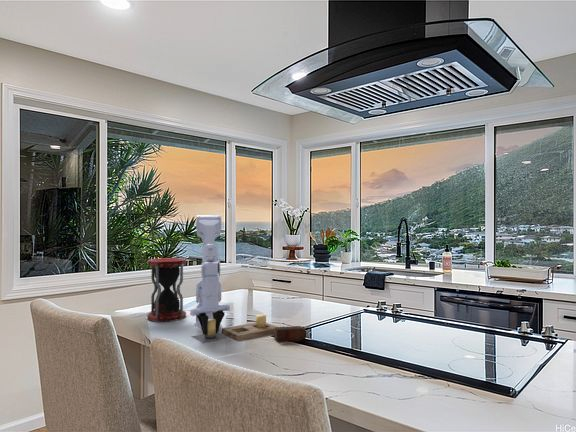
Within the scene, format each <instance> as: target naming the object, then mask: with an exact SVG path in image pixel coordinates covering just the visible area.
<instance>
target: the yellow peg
mask: <svg viewBox="0 0 576 432" xmlns="http://www.w3.org/2000/svg"><path fill="white" fill-rule="evenodd" d="M215 337H216V319H208V323H207V335H205V338H208V339H211V338H215Z"/></svg>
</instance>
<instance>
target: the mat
mask: <svg viewBox="0 0 576 432" xmlns="http://www.w3.org/2000/svg"><path fill="white" fill-rule="evenodd" d="M190 337H191V338H193V339H194V340H196V341H198V342H200V343H201V344H205V343H211V342H217V341H221V340H226V339H229V336H227V335H225V334H222V333H219V332H218V333H216V337H215V338H211V339H208V338H205V335H204V334H203V333H202V334H197V335H191V336H190Z"/></svg>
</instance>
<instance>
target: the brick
mask: <svg viewBox="0 0 576 432" xmlns="http://www.w3.org/2000/svg"><path fill="white" fill-rule="evenodd" d="M274 331H275V334H274V338H273V339H274V340H275V342H276V343H283V342H284V343H292V342H298V341H297V340H301V339H305V340H306V338H307V331H306V328H305V327H304V326H301V325H297V326H296V325H294V326H277V327H276V328H275V330H274Z"/></svg>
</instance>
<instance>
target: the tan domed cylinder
mask: <svg viewBox="0 0 576 432" xmlns="http://www.w3.org/2000/svg"><path fill="white" fill-rule="evenodd" d="M255 322H256V328H258V329H260V328H266V323H267V315H266V314H257V315H255Z"/></svg>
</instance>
